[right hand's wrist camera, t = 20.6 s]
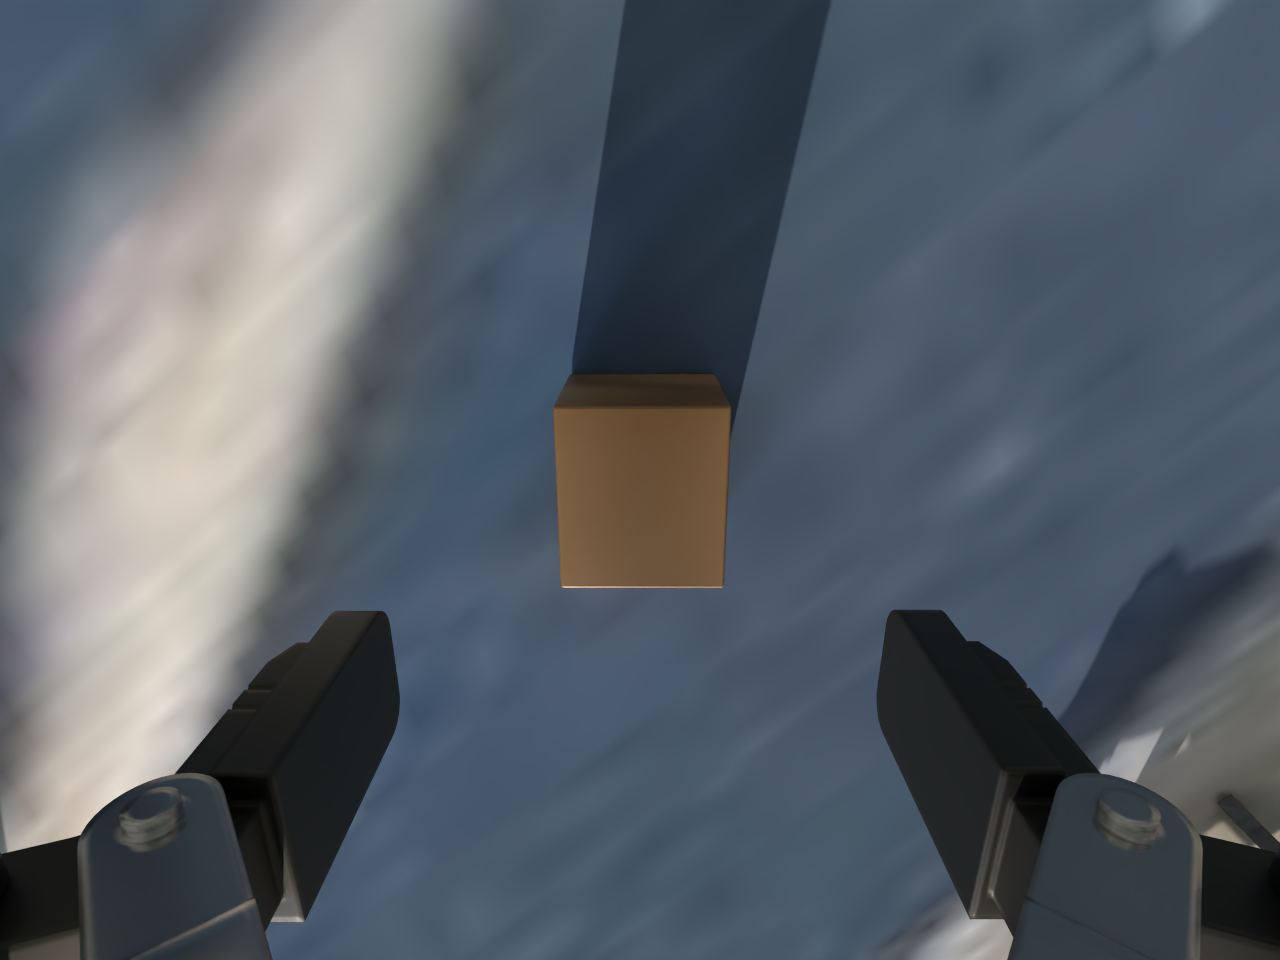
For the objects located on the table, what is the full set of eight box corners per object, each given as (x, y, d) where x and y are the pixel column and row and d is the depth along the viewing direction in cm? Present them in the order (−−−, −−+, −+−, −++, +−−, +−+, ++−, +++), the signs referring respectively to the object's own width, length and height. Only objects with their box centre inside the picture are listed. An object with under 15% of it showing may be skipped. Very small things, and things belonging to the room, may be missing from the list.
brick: (574, 527, 23) (560, 589, 19) (569, 373, 22) (552, 406, 18) (710, 527, 23) (724, 588, 19) (715, 373, 22) (732, 406, 18)
